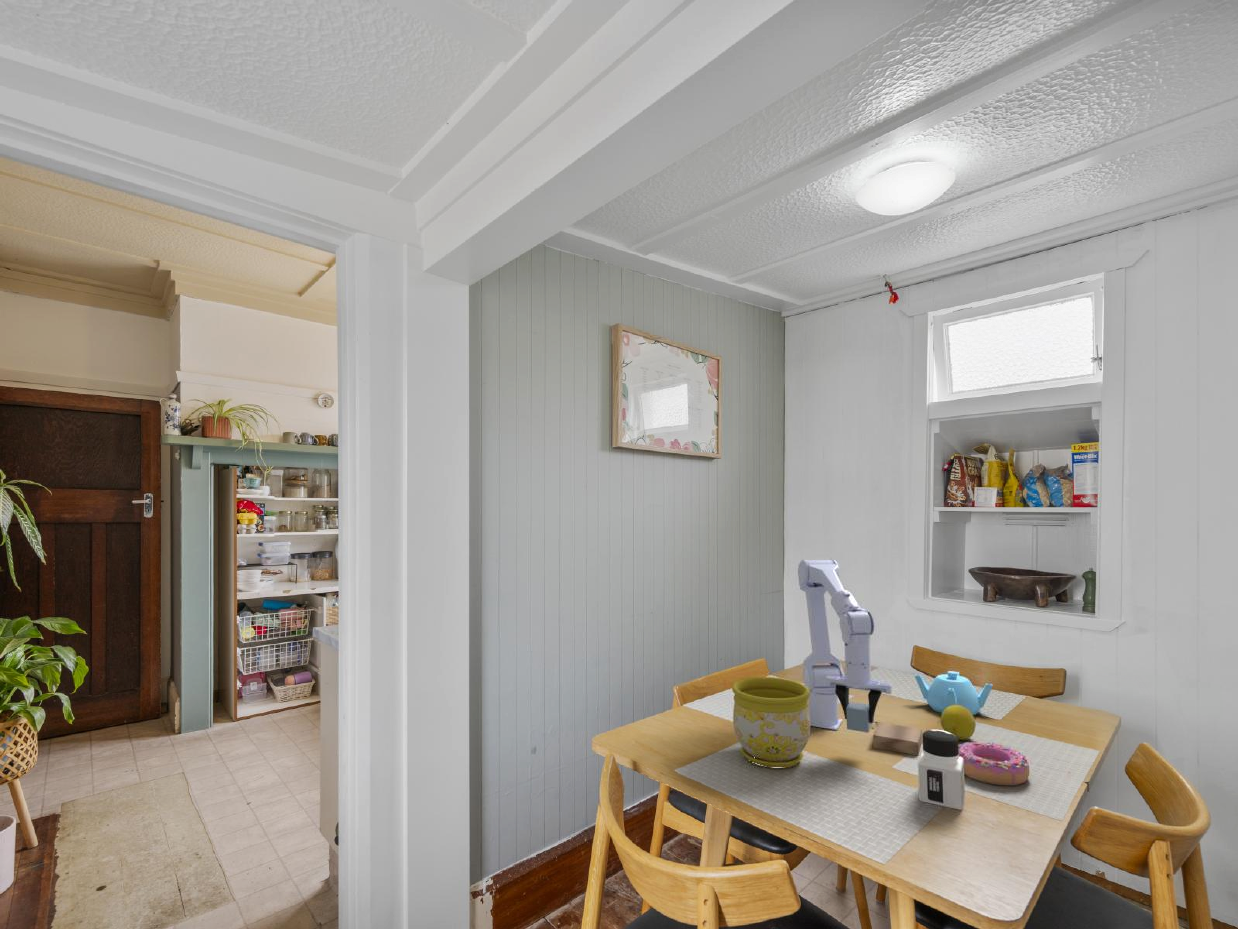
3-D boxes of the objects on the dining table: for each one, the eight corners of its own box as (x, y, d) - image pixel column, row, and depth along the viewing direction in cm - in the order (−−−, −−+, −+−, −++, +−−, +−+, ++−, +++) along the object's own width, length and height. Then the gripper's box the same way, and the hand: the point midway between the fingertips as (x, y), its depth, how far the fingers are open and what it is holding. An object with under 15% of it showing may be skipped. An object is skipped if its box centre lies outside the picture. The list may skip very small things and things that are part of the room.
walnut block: (873, 747, 154) (873, 735, 154) (879, 734, 163) (878, 722, 163) (918, 755, 149) (918, 742, 149) (922, 741, 158) (921, 729, 158)
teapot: (998, 717, 175) (996, 677, 176) (951, 721, 172) (950, 681, 172) (957, 700, 190) (955, 663, 191) (913, 704, 187) (912, 667, 187)
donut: (943, 761, 147) (942, 739, 147) (1005, 761, 146) (1004, 739, 146) (976, 789, 132) (975, 765, 132) (1045, 789, 132) (1044, 765, 132)
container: (962, 811, 123) (959, 743, 123) (918, 801, 127) (916, 735, 128) (965, 795, 129) (962, 730, 130) (923, 786, 133) (921, 724, 134)
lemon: (970, 748, 153) (969, 714, 154) (936, 740, 159) (934, 707, 159) (981, 735, 161) (980, 704, 162) (948, 728, 167) (947, 697, 167)
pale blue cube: (846, 729, 149) (846, 707, 149) (850, 722, 153) (849, 701, 153) (868, 732, 146) (867, 711, 146) (871, 726, 150) (871, 704, 151)
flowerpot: (826, 771, 141) (824, 696, 142) (749, 777, 138) (748, 701, 139) (791, 740, 159) (789, 674, 160) (723, 746, 156) (721, 678, 157)
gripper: (822, 662, 150) (824, 720, 150) (888, 670, 143) (890, 730, 143) (828, 655, 157) (830, 711, 156) (892, 662, 149) (893, 721, 149)
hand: (859, 720), depth 150 cm, fingers closed on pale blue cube, 5 cm apart
